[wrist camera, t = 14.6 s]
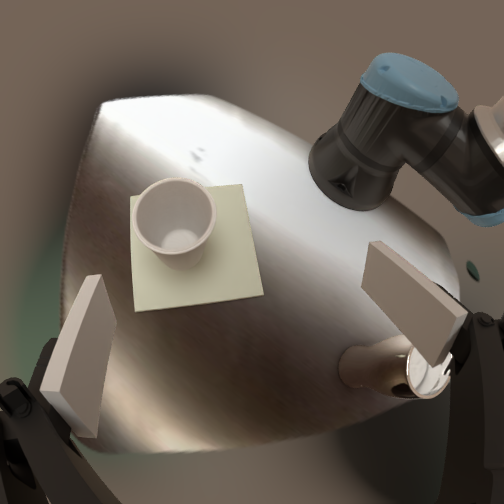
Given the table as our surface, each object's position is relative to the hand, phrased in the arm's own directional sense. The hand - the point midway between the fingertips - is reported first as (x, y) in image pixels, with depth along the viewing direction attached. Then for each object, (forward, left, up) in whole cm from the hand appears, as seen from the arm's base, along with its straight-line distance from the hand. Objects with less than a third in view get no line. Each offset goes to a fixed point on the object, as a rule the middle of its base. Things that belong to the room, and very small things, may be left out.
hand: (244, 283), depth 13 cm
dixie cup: (+4, -10, -22) cm, 25 cm away
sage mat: (+2, -11, -23) cm, 25 cm away
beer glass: (-17, +9, -23) cm, 30 cm away
